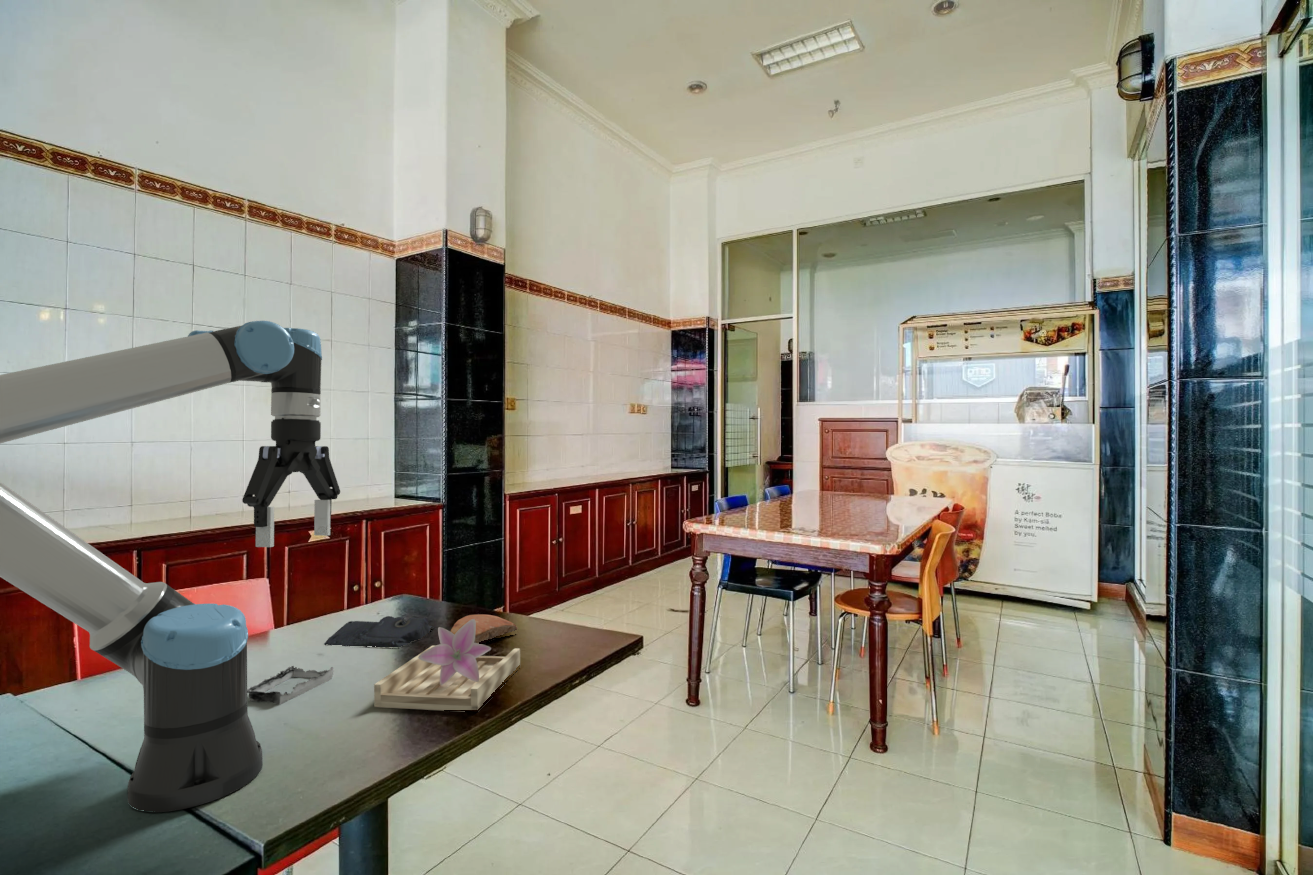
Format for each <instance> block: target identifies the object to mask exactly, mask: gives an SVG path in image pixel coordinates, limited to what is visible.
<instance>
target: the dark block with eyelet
mask: <svg viewBox="0 0 1313 875" xmlns="http://www.w3.org/2000/svg"><path fill="white" fill-rule="evenodd" d="M428 620H429V619H428V618H427V617H409V618H408V619H407V620H406V621H405V617H402V616H396V617H394V616H392V615H391V616H389V615H386V616H384V617H382V618H381V619H380V620H379V621H365V620H364V621H363V620H354V621H353V620H351V621H348V622H346V623H345V624H343V626H341V627H340V628H339V629H337V630H336V631H335V633H333V634H332V635H331V636H330V637H328V638H327V640H326V641H325V642H324V645H325V644H328V645H327V646H332V645H342V646H341V647H350V646H366V647H365V648H368V647H367V646H372V647H375V646H376V647H401V646H403V645H407V644H408V643H410V642H411V641H414V640H418V639H421V638H422V637H423V636H425V635H426V634H427V633H429V631H430V628H431V627H433V626H432V625H430V624H429V621H428ZM429 634H430V633H429ZM421 640H422V639H421ZM401 648H402V647H401Z"/></svg>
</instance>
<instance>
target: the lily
mask: <svg viewBox="0 0 1313 875" xmlns="http://www.w3.org/2000/svg"><path fill="white" fill-rule="evenodd" d="M450 631H451V630H448V629H446V628H444V627H442V626H439V627H438V628H437V632H438V638H439V640H438V641H439V644H437V645H433V646H434V647H432V648H430V649H428V648H427V649H428V650H427V651H425V650H424V651H425V652H423V651H422V652H423V653H422V652H421V653H422V654H421V655H419V654H418V655H419V657H418V658H419V659H420V660H422V661H425V662H429V663H433V664H437V665H442V666H441V671H440V685H443V684H444V683H446V682H447V681H448V680H449V679H450V678H451V677H452V676H453V675H454V674H455V673H456V672H458V673H459V674H461V675H463V676H465V677H466V678H468V679H470V680H472V681H475V682H478V681H479V671H478V665H477V661H476V659H475V658H477V657H479V656H484V655H485V654H486V653H488V652H490V651H491V650H492V647H491V646H489V645H486V644H479V643H474V641H475V633H476V621H475V619H472V620H470V621H468V622H467V623H466V624H465V625H463V626H462V627H461V628H460V629H459V630H458V631H457V632H456V633H455V635H454V634H453V633H452V632H450Z"/></svg>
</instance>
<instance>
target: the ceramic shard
mask: <svg viewBox="0 0 1313 875" xmlns="http://www.w3.org/2000/svg"><path fill="white" fill-rule="evenodd" d="M472 619H475V621H476V633H475V641H474V643H479V642H481V641H484V640H488V639H492V638H494V637H496V636H500V635H503V634H506V633H509V632H512V631H515V630H517V629H518V628H519V627H518V626H517V625H516V624H515V623H513V622H512V621H509V620H507V619H504V618H503V617H499V616H497V615H491V614H483V613H482V614H469V615H466V616H463V617H462V618H460V619H458V620H457V621H456V622H455V623H454V624H453V626H452V627H451V629H450V630H449V631H450V632H452V633H453V634H454V635H455V633H456V632H457V631H458V630H459V629H460V628H461V627H462V626H463V625H465V624H466V623H467V622H468V621H470V620H472ZM518 630H519V629H518Z"/></svg>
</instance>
